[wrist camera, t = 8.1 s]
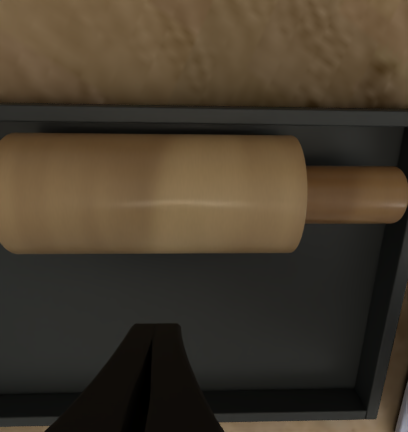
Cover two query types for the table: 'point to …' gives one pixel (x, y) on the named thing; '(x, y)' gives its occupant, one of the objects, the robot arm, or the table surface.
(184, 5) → the table surface
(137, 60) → the table surface
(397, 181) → the rolling pin
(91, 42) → the table surface
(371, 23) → the table surface
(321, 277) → the pastry tray
